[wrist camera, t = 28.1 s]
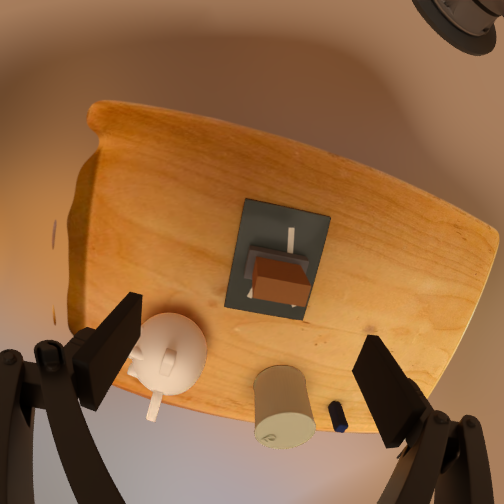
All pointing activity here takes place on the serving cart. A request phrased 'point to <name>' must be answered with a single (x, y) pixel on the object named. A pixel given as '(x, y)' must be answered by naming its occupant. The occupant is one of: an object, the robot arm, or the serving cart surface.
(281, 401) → the can
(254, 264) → the chalk eraser
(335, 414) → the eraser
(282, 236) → the slate board
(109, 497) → the robot arm
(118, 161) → the serving cart surface
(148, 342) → the piggy bank
